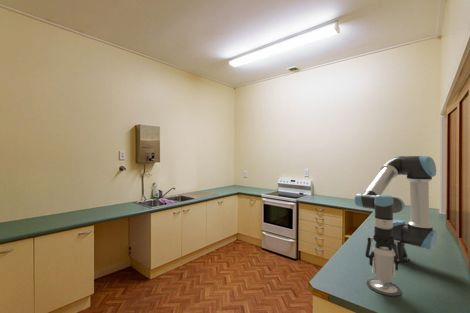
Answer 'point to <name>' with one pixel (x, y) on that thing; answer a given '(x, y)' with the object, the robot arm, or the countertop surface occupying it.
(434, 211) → the countertop surface
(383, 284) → the plate
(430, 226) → the robot arm
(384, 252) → the coffee cup
